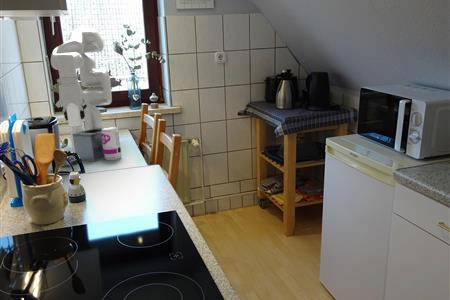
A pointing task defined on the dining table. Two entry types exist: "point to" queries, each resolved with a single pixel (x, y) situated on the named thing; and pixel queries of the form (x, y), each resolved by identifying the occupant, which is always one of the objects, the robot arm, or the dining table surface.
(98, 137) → the box
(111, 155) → the supplement can
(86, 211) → the dining table surface
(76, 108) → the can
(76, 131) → the milk bottle
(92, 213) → the dining table surface
